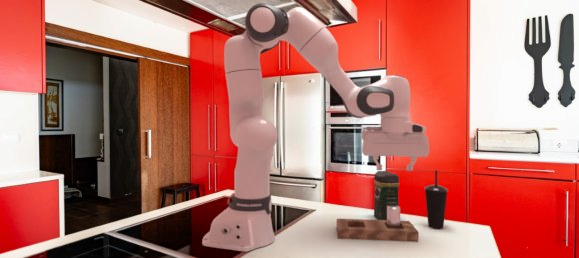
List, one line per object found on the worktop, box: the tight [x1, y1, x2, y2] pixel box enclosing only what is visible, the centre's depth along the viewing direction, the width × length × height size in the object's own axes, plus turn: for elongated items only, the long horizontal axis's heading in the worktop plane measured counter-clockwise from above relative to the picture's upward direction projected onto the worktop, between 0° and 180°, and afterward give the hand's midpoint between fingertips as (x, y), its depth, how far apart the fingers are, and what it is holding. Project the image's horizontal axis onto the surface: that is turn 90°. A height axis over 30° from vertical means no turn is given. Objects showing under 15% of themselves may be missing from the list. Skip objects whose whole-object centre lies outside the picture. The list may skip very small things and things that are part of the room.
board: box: [336, 218, 419, 243], centre depth 98 cm, size 24×10×4 cm, turn 84°
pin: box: [387, 205, 401, 229], centre depth 97 cm, size 4×4×9 cm
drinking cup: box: [424, 170, 449, 230], centre depth 107 cm, size 8×8×20 cm
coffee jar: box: [373, 170, 400, 220], centre depth 114 cm, size 10×8×19 cm
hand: (394, 170), depth 97 cm, fingers open, 8 cm apart
